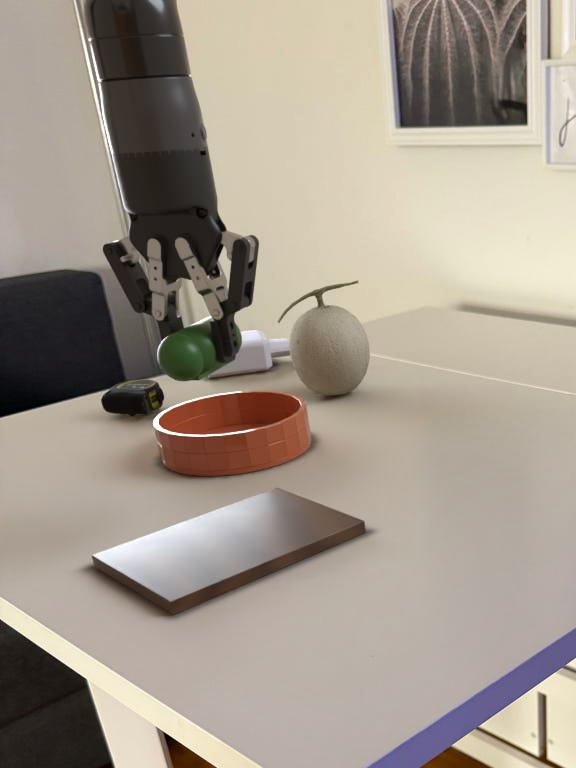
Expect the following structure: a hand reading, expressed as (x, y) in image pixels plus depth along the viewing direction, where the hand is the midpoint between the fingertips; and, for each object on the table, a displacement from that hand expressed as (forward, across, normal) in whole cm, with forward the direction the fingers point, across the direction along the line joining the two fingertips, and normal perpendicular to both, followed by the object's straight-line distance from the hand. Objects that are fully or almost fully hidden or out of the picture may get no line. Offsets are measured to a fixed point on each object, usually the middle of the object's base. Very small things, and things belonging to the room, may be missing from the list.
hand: (204, 360), depth 83 cm
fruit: (+16, -6, +42) cm, 45 cm away
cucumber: (+1, 0, 0) cm, 1 cm away
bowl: (+15, -10, +19) cm, 26 cm away
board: (+15, +3, -7) cm, 17 cm away
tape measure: (+15, -30, +32) cm, 46 cm away
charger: (+15, -24, +56) cm, 63 cm away
